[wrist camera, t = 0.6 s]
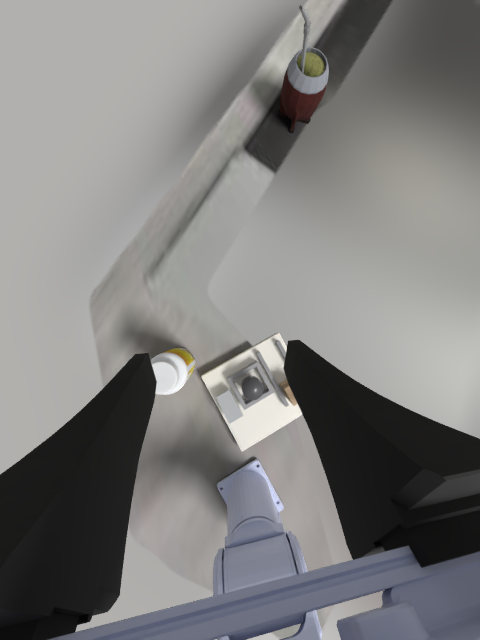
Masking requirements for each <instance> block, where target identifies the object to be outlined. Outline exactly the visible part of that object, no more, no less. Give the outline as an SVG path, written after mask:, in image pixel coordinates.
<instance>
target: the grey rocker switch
mask: <svg viewBox="0 0 480 640" xmlns="http://www.w3.org/2000/svg"><path fill="white" fill-rule="evenodd" d="M216 399H217V401H218V403H219V405H220V406H221V408H222V410H223V412H224V414H225V416H226V418H227V420H228V422H229V424H230V423H232V422H234V421H235V420H237V419H239V418H240V417H242V416H243V413H242V411H241V410H240V408H239V406H238V404H237V402H236V400H235V398H234V396H233V394H232V392H231V390H230V389H229V390H227V391H225V392H224V393H222V394H220V395H218V396H217V397H216Z"/></svg>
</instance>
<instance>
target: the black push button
mask: <svg viewBox="0 0 480 640" xmlns="http://www.w3.org/2000/svg"><path fill="white" fill-rule="evenodd" d="M241 388H242V392H243V395H244V396H245V397H246V398H247V399H248V400H257V399H259V398H260V397H261V396H262V394H263V390H264V389H263V385H262V383H261V382H260V380H259V379H258V378H257V377H255V376H248V377H246V378H245V379H244V380H243V381H242V384H241Z"/></svg>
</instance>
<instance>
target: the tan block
mask: <svg viewBox="0 0 480 640" xmlns="http://www.w3.org/2000/svg"><path fill="white" fill-rule="evenodd" d="M280 386H281V388H282V390H283V391H284V393H285V395H286V397H287V399H288V400H289V401H290V402H291V403H292V404H293V406H295V405H297V402H296V399H295V397H294V395H293V393H292V391H291V389H290V387H289V384H288V381H287V380H285V381H283V382H282V383H280Z"/></svg>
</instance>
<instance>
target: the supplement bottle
mask: <svg viewBox="0 0 480 640" xmlns="http://www.w3.org/2000/svg"><path fill="white" fill-rule="evenodd" d="M150 361H151V364H152V367H153V371H154V374H155V377H156V381H157V385H156V392H155V394H162V395H168V394H172V393H175V392H177V391H178V390H180V389H181V388H182V387H183V385H184V384H185V383H186V381H187V380H188V379H189V377H190V376H191V375H192V373H193V371H194V369H195V359H194V357H193V355H192V354H191V353H190V352H189V351H188V350H186V349H184V348H174V349H171V350H169V351H166V352H163V353H161V354H158V355H156V356H155V357H153V358H152V359H151V360H150Z"/></svg>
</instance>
